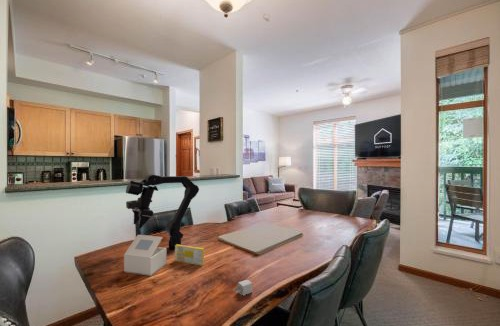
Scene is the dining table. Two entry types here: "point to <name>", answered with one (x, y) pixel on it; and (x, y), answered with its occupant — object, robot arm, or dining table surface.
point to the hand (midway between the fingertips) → (137, 226)
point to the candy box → (189, 254)
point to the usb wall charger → (244, 287)
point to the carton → (145, 263)
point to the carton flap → (143, 246)
